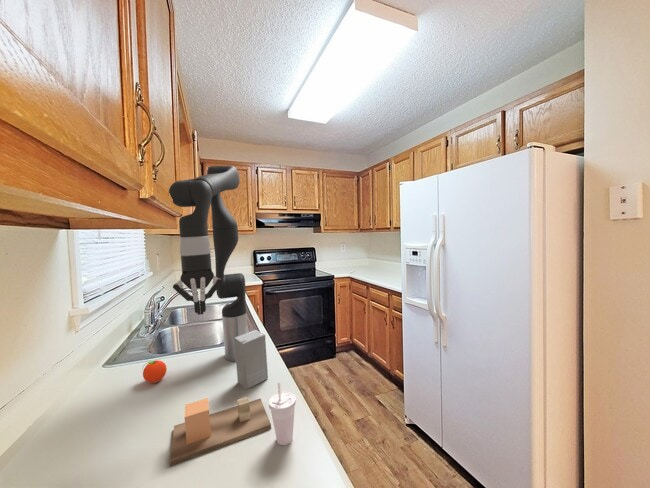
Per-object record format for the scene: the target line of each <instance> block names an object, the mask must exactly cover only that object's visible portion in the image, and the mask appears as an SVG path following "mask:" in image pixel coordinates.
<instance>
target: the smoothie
mask: <svg viewBox="0 0 650 488" xmlns="http://www.w3.org/2000/svg"><path fill="white" fill-rule="evenodd" d="M296 405H297V398H296V395H295V394H294V393H292V392H290V391H282V389H281V381H277V393H275V394H273V395H272V396H271V397H270V398H269V400H268V408H269V410H270V413H271V418H272V423H273V428H274V434H275V439H276V442H277V444H278V445H280V446H287V445H289V444H291V442H292V441H293V439H294V438H293V437H294V436H293V435H294V422H295V420H294V419H295V408H296V407H295V406H296Z"/></svg>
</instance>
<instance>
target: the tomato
mask: <svg viewBox="0 0 650 488" xmlns="http://www.w3.org/2000/svg"><path fill="white" fill-rule="evenodd" d="M167 368H168V367H167V365H166V363H165V362H164V361H163V360H159V359H158V360H157V359H156V360H151V361H147V362H146V363H145V366H144V367H142V369H143V371H142V377H143V379H144V381H146V382H147V383H151V384H154V383H157V382H160V381H161V380H162V379H163V378H164V377H165V376H166V374H167V370H168V369H167Z"/></svg>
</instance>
